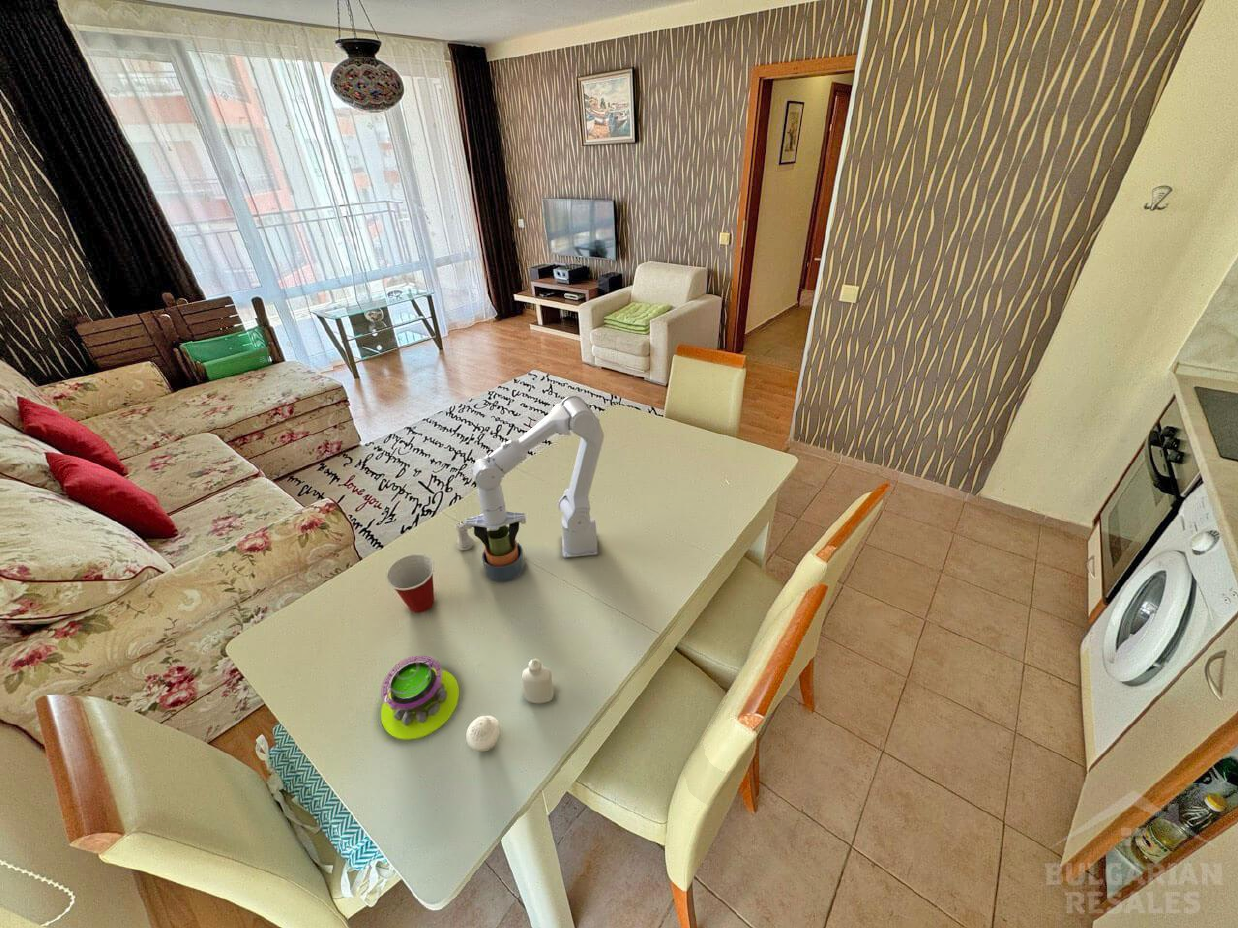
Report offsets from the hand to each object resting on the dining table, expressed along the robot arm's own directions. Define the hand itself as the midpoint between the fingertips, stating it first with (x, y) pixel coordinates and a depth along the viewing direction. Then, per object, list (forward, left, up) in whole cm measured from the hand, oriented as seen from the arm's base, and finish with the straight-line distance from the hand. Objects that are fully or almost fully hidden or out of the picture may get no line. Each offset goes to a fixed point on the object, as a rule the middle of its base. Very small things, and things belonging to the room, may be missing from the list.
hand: (500, 545), depth 126 cm
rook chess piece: (+12, -10, -8) cm, 17 cm away
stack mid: (0, 0, -8) cm, 8 cm away
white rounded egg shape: (+1, +46, -8) cm, 47 cm away
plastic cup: (+20, +10, -8) cm, 23 cm away
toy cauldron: (+15, +36, -8) cm, 40 cm away
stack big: (0, 0, -8) cm, 8 cm away
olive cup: (0, 0, -1) cm, 1 cm away
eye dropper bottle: (-9, +38, -8) cm, 40 cm away
